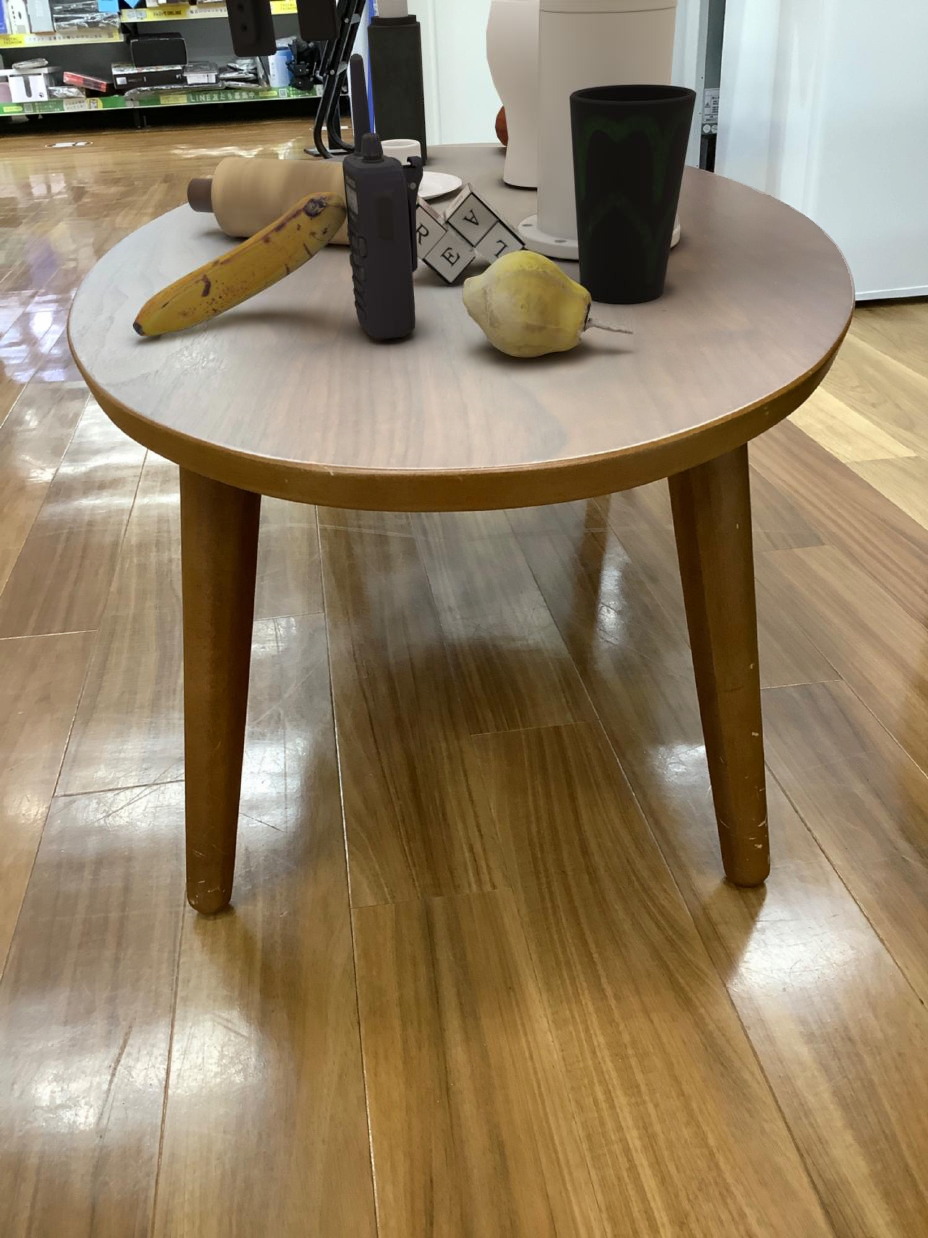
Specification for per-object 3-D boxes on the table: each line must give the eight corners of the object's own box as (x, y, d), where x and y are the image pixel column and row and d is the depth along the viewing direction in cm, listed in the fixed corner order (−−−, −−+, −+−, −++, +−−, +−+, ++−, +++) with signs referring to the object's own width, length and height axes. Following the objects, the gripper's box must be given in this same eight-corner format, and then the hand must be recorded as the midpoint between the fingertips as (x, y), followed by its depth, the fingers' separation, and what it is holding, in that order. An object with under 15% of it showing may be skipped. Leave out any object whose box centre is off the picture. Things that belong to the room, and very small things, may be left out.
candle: (425, 166, 105) (409, -133, 90) (376, 167, 105) (353, -131, 91) (427, 156, 109) (413, -131, 95) (381, 158, 109) (359, -128, 95)
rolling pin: (420, 242, 81) (419, 161, 78) (389, 254, 76) (386, 168, 73) (220, 228, 87) (212, 152, 84) (179, 238, 82) (169, 157, 79)
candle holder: (367, 214, 88) (363, 161, 86) (316, 190, 97) (310, 141, 94) (485, 195, 93) (484, 144, 90) (425, 173, 101) (423, 126, 99)
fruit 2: (637, 370, 56) (460, 353, 55) (615, 363, 62) (454, 347, 61) (653, 261, 54) (470, 241, 54) (629, 264, 60) (464, 246, 59)
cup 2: (565, 163, 102) (569, -10, 94) (619, 182, 94) (629, -5, 86) (470, 176, 99) (465, -3, 90) (518, 196, 91) (518, 3, 82)
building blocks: (472, 288, 76) (391, 214, 72) (521, 234, 74) (441, 154, 70) (477, 311, 71) (391, 232, 68) (530, 254, 69) (445, 170, 66)
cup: (687, 278, 70) (705, 84, 63) (668, 312, 64) (686, 102, 57) (579, 271, 72) (585, 83, 65) (552, 303, 66) (555, 101, 59)
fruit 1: (308, 182, 54) (337, 233, 55) (353, 177, 62) (377, 222, 63) (99, 317, 60) (129, 363, 60) (165, 297, 68) (190, 337, 69)
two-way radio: (350, 318, 64) (324, 51, 56) (417, 309, 65) (401, 46, 57) (371, 346, 60) (345, 61, 51) (441, 336, 61) (428, 55, 52)
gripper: (224, -282, 57) (276, 61, 67) (357, -250, 70) (384, 33, 80) (116, -264, 59) (181, 64, 69) (264, -237, 72) (301, 36, 82)
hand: (290, 47), depth 74 cm, fingers open, 9 cm apart
